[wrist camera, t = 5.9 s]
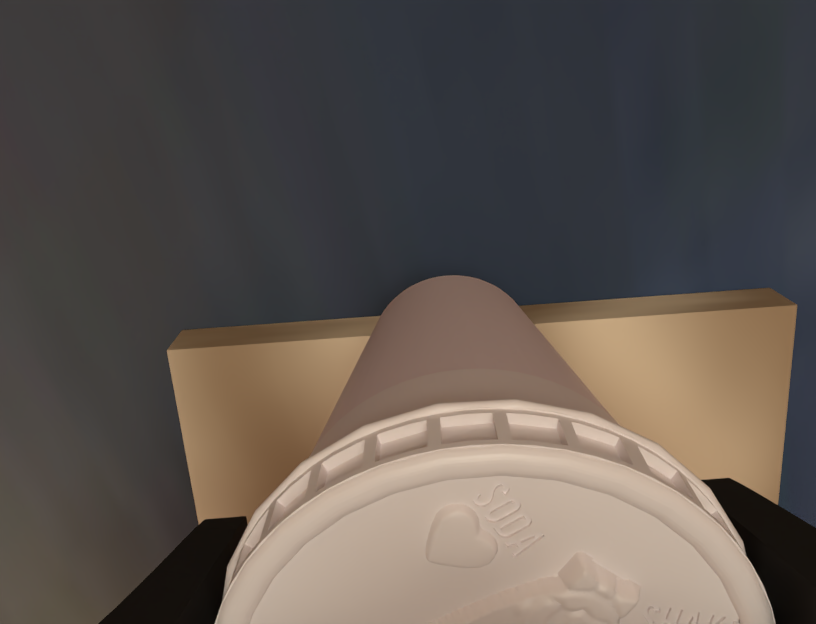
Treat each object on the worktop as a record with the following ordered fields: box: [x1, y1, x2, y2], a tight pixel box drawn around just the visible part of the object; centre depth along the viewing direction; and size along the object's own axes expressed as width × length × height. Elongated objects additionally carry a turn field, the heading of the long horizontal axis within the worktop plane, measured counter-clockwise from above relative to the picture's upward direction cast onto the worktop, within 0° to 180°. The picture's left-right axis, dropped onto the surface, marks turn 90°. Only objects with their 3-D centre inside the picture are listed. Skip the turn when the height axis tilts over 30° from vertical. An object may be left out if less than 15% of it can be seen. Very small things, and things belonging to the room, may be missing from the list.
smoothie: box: [215, 275, 776, 624], centre depth 11 cm, size 6×6×14 cm
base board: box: [167, 288, 797, 524], centre depth 23 cm, size 16×16×2 cm
